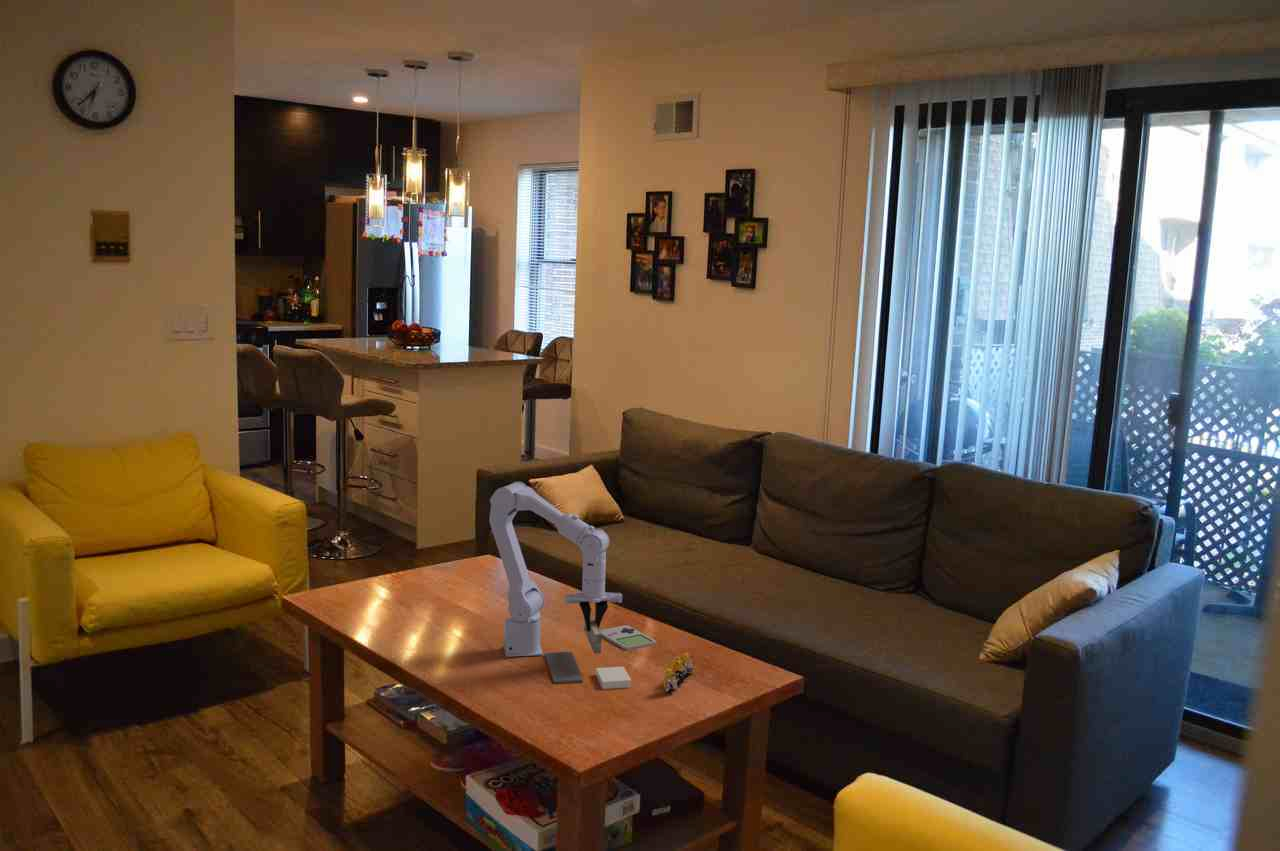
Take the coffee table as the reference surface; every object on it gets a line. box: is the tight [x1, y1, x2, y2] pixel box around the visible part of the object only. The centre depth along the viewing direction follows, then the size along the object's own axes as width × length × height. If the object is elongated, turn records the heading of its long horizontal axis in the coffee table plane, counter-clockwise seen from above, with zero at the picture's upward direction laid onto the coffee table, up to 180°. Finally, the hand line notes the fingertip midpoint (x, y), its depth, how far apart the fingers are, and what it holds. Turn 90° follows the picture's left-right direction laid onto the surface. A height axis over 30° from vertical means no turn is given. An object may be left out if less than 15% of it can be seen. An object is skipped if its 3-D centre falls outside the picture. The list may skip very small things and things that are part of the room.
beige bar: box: [583, 612, 603, 655], centre depth 264 cm, size 2×16×5 cm, turn 13°
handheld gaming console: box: [600, 624, 658, 651], centre depth 283 cm, size 10×2×15 cm
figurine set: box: [663, 651, 694, 696], centre depth 252 cm, size 3×16×7 cm, turn 158°
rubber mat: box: [544, 651, 584, 685], centre depth 260 cm, size 7×19×1 cm, turn 12°
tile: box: [595, 666, 632, 690], centre depth 253 cm, size 7×2×9 cm
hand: (592, 630), depth 264 cm, fingers closed on beige bar, 2 cm apart
